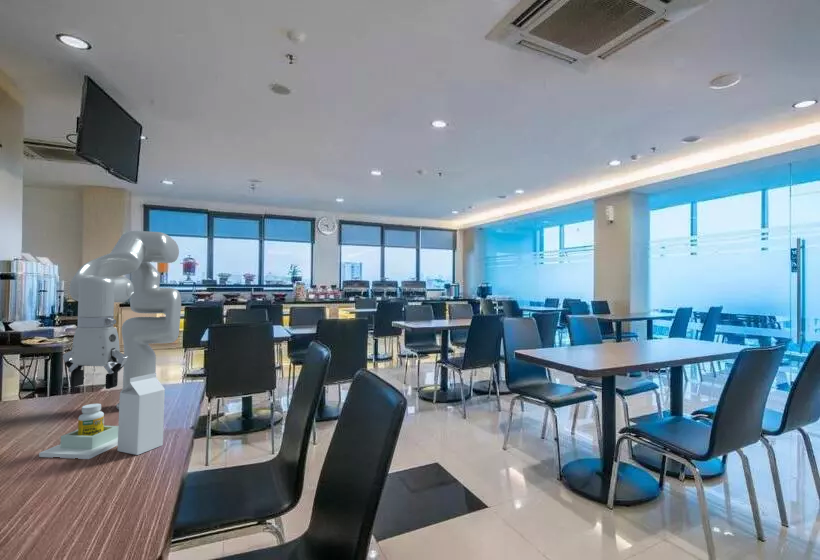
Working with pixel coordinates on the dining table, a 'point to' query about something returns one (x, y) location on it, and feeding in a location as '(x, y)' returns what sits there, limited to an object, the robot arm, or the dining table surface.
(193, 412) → the dining table surface
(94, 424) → the supplement bottle
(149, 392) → the milk carton
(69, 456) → the cup holder
